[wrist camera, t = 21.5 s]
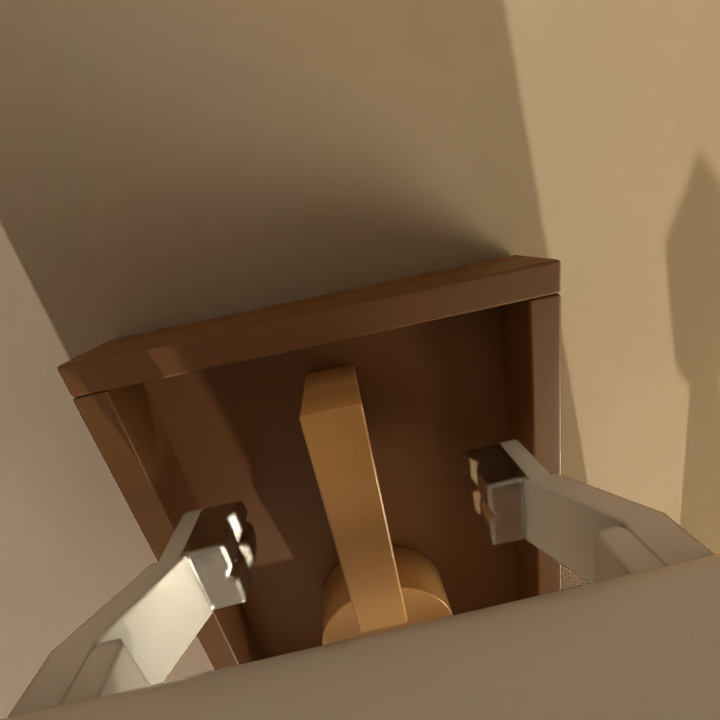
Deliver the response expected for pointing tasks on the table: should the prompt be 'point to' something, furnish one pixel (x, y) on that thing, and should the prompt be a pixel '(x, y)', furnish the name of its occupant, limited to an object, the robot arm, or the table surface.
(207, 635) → the walnut tray
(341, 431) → the beech spoon
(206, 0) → the table surface
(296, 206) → the table surface
